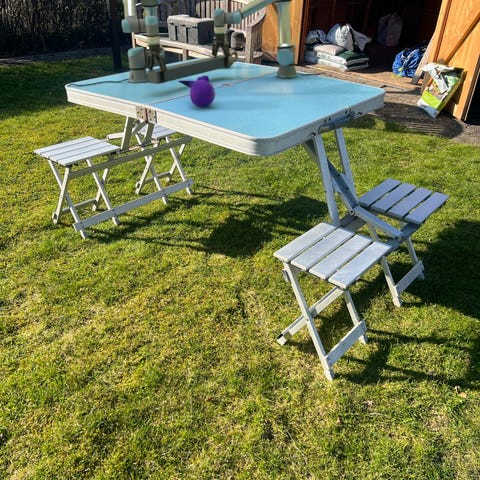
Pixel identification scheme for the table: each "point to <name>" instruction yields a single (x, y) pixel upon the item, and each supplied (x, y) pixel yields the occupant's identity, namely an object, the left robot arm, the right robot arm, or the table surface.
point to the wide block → (187, 69)
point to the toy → (201, 91)
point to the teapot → (232, 60)
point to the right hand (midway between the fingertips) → (221, 66)
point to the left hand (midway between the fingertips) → (158, 81)
